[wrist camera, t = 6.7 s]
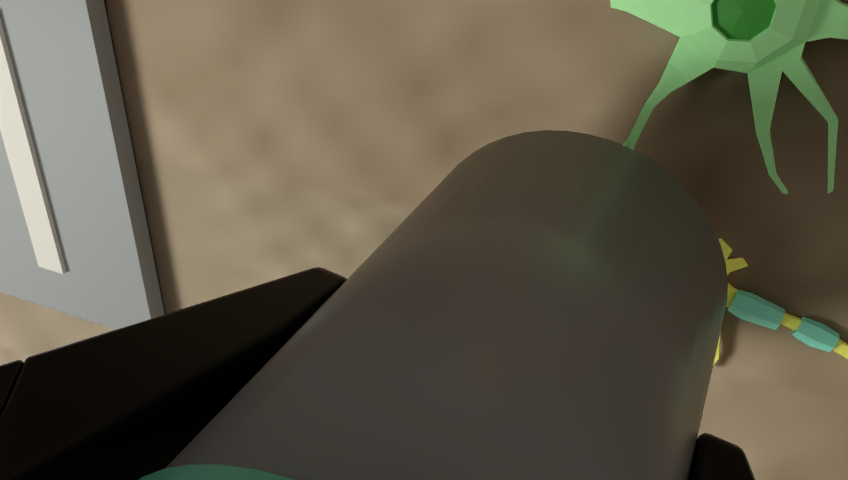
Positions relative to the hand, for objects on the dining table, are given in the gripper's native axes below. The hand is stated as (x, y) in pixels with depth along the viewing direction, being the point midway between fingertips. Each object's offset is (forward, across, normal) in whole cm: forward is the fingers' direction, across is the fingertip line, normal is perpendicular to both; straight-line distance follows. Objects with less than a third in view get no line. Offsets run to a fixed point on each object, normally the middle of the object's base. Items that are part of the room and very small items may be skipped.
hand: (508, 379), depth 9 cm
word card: (+4, +11, +3) cm, 12 cm away
